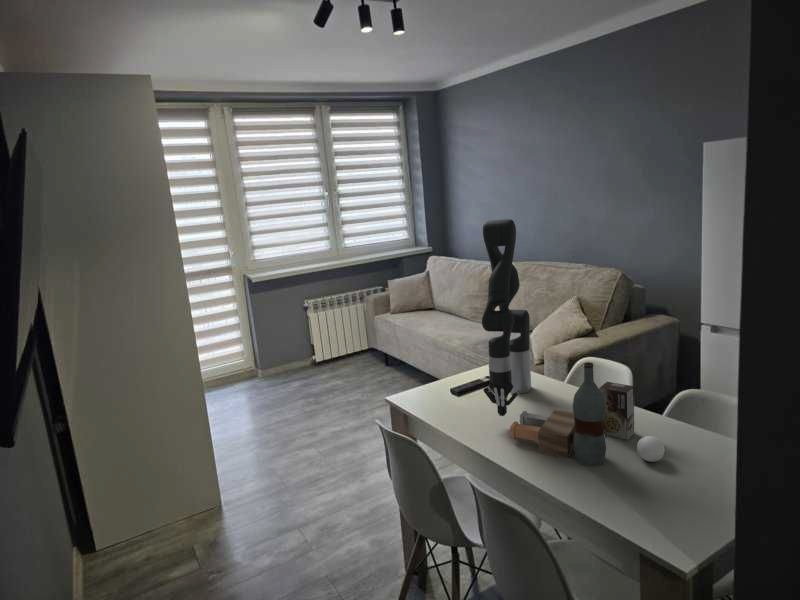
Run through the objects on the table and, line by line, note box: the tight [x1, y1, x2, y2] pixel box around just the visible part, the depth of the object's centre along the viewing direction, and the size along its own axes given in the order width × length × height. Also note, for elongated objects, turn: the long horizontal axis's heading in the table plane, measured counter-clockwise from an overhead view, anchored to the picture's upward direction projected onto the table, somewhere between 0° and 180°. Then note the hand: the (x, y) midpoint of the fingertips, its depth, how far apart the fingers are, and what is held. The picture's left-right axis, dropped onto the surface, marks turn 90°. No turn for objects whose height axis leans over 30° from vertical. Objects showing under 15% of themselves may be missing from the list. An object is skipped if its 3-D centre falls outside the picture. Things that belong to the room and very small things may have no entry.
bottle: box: [572, 361, 607, 467], centre depth 157 cm, size 9×9×30 cm
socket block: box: [537, 408, 575, 458], centre depth 170 cm, size 18×9×7 cm, turn 148°
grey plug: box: [519, 410, 550, 428], centre depth 178 cm, size 4×13×4 cm, turn 58°
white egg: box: [634, 435, 665, 463], centre depth 157 cm, size 10×7×7 cm
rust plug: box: [509, 421, 540, 442], centre depth 171 cm, size 4×13×4 cm, turn 58°
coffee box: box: [598, 381, 635, 440], centre depth 172 cm, size 9×6×16 cm
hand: (502, 415), depth 185 cm, fingers closed
